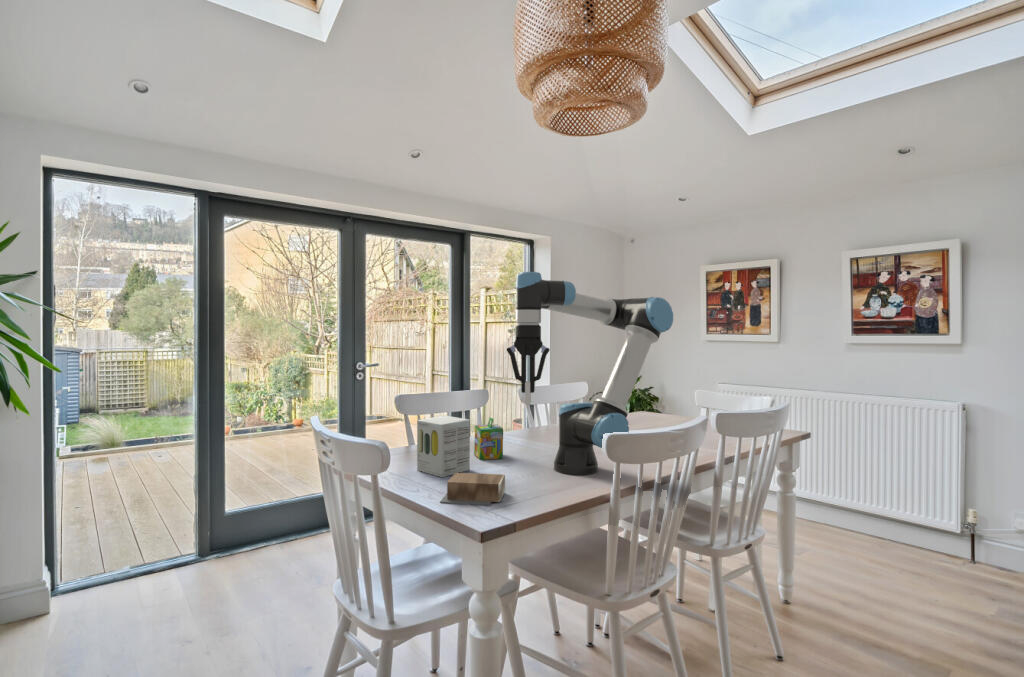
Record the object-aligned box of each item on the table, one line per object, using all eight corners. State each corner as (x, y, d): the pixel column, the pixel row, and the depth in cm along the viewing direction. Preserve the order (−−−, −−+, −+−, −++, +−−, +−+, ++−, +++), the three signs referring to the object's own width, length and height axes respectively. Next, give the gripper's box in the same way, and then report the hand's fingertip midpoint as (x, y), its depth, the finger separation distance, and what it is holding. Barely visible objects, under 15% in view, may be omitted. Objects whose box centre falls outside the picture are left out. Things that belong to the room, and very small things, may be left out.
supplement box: (415, 470, 186) (415, 419, 185) (444, 463, 196) (444, 415, 195) (442, 477, 177) (442, 424, 177) (470, 469, 187) (470, 419, 187)
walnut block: (505, 474, 161) (455, 472, 163) (499, 484, 151) (447, 481, 153) (504, 491, 161) (455, 489, 163) (499, 502, 151) (447, 499, 153)
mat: (498, 488, 166) (498, 487, 166) (489, 505, 150) (489, 504, 150) (453, 486, 167) (453, 485, 167) (440, 503, 152) (440, 501, 152)
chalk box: (473, 455, 209) (474, 416, 208) (496, 453, 211) (497, 415, 211) (479, 460, 200) (479, 420, 199) (503, 459, 203) (503, 419, 202)
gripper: (551, 324, 164) (550, 402, 165) (508, 324, 166) (508, 401, 166) (549, 324, 157) (549, 405, 157) (504, 324, 159) (504, 404, 159)
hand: (527, 403), depth 162 cm, fingers closed
